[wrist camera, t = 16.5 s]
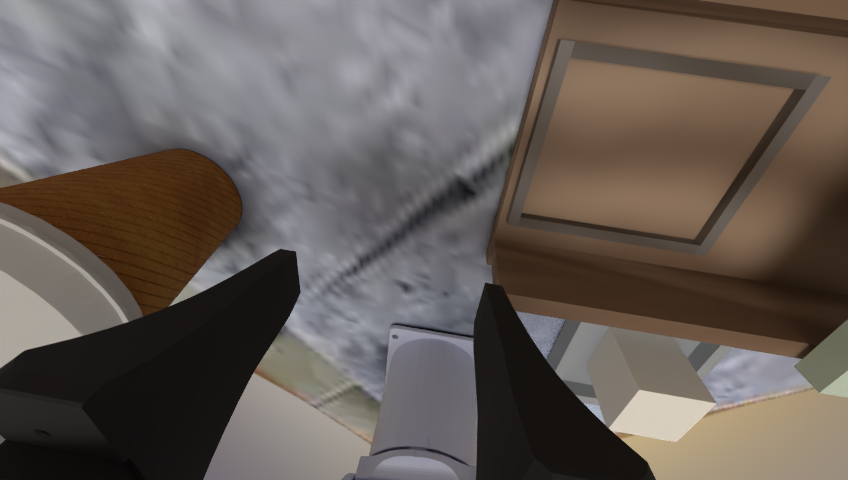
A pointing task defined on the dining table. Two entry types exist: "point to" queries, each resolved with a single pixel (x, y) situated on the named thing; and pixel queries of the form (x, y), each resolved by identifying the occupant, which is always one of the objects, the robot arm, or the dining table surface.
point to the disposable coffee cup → (106, 244)
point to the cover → (828, 364)
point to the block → (647, 385)
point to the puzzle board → (684, 172)
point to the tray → (584, 339)
